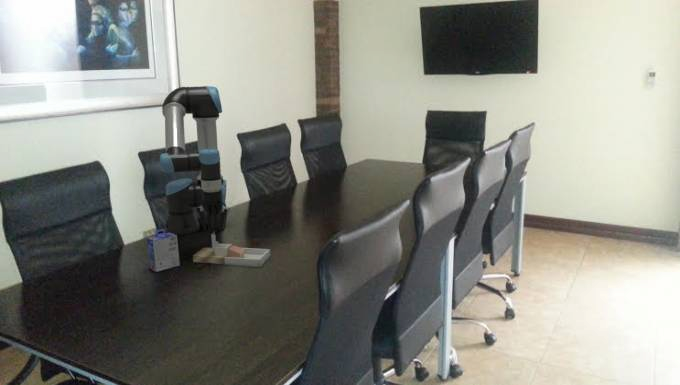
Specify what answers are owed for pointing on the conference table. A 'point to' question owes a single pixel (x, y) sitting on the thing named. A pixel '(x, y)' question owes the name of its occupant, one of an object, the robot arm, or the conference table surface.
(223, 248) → the tile
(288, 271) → the conference table surface
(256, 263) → the tray
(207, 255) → the board
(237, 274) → the conference table surface
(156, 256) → the ink cartridge box
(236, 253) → the tile
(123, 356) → the conference table surface
